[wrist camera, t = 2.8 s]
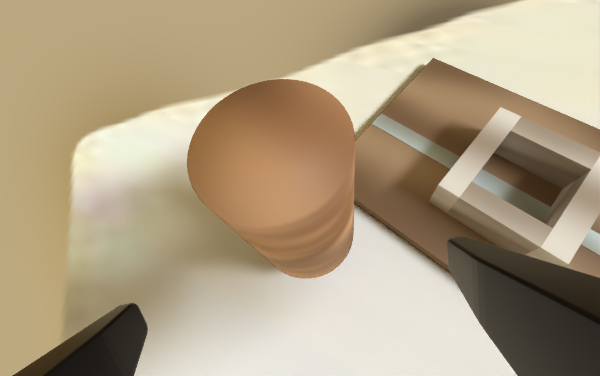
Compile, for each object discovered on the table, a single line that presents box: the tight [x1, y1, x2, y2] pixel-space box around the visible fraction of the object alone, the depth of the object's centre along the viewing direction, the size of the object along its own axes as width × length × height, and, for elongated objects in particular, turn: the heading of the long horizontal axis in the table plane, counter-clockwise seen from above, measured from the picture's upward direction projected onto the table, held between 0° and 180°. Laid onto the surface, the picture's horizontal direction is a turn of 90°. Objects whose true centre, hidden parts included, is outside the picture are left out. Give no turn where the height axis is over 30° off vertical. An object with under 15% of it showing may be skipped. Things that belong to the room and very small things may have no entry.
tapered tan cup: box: [187, 79, 355, 278], centre depth 15 cm, size 6×6×12 cm
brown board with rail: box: [354, 58, 600, 278], centre depth 18 cm, size 14×22×3 cm, turn 47°
